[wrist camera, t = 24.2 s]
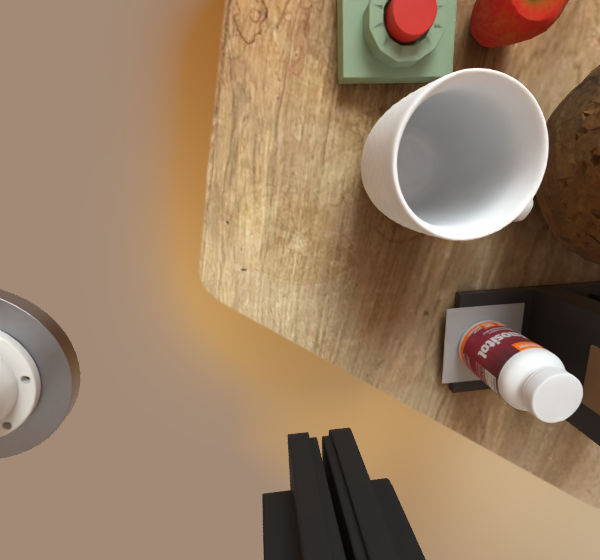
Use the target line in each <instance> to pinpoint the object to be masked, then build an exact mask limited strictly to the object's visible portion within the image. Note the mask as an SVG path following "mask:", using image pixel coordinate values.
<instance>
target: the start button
mask: <svg viewBox="0 0 600 560" xmlns="http://www.w3.org/2000/svg"><path fill="white" fill-rule="evenodd" d="M436 14H437V2H436V0H392V1H391V2H390V4H389V5H388V8H387V11H386V17H385V19H386V26H387V29H388V32H389V33H390V35H391V36H392V37H393V38H394V39H395V40H397V41H399V42H402V43H410V42H413V41H415V40H417V39H418V38H420V37H421V36H422V35H423V34H424V33H425V32H426V31H428V30H429V29H430V27H431V26H432V25H433V23H434V21H435V18H436Z"/></svg>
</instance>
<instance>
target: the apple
mask: <svg viewBox="0 0 600 560" xmlns="http://www.w3.org/2000/svg"><path fill="white" fill-rule="evenodd" d="M568 1H569V0H476V3H475V5H474V8H473V11H472V15H471V20H470V28H471V33H472V35H473V37H474V39H475V40H476V41H477V42H478V43H480V44H481V45H482V46H485V47H502V46H507V45H511V44H515V43H518V42H522V41H525V40H529V39H532V38H533V37H535V36H537V35H539V34H541V33H543V32H545V31H546V30H547V29H548V28H549V27H550V26H551V25H552V24H553V23H554V22H555V21H556V20H557V19H558V18H559V16H560V15H561V13H562V11H563V9H564V8H565V6H566V4H567V2H568Z"/></svg>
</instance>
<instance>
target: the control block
mask: <svg viewBox="0 0 600 560" xmlns="http://www.w3.org/2000/svg"><path fill="white" fill-rule="evenodd" d="M391 1H392V0H337V56H338V84H383V83H430V82H433V81H435V80H437V79H439V78H441V77H443V76H445V75H448V74H450V73H453V57H454V41H455V24H456V8H457V0H436V2H437V14H436V18H435V21H434V23H433V25H432V26H431V27H430V29H429V30H428V31H426V32H425V33H424V34H423V35H422V36H421V37H420V38H418V39H417V40H415V41H413V42H410V43H402V42H399V41H397V40H395V39H394V38H393V37H392V36H391V35H390V33H389V32H388V29H387V26H386V19H385V17H386V11H387V8H388V5H389V4H390V2H391Z"/></svg>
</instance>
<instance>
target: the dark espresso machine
mask: <svg viewBox="0 0 600 560" xmlns="http://www.w3.org/2000/svg"><path fill="white" fill-rule="evenodd" d="M485 320H493V321H498V322H500V323H502V324H504V325H506V326H508V327H509V328H511V329H513V330H514V331H516V332H518V333H519V334H521V335H523V336H525V337H526V338H528V339H530V340H531V341H533V342H535V343H536V344H538V345H540V346H542V347H543V348H545V349H547V350H548V351H550V352H551V353H553V354H555V355H556V356H557V357H558V358H559V359H560V360H561V362H562V363H563V365H564V367H565V370H566V371H567V372H568V373H570V374H572V375H573V376H575V377H576V378H577V379H578V380H579V381H580V383H581V385H582V388H583V397H582V401H581V403H580V405H579V407H578V408H577V410H576V411H575V412H574V413H573V414H572V415H571V416H570V417H568V418H567V419H565V420H567V421H568V422H569V423H570V424H572V425H573V426H574V427H576V428H577V429H578V430H580V431H581V432H582V433H583V434H585V435H586V436H587V437H589V438H590V439H591V440H593V441H594V442H595V443H597V444H598V445H599V446H600V281H599V282H585V283H572V284H559V285H545V286H532V287H519V288H506V289H492V290H479V291H466V292H456V300H455V308H451V309H446V324H445V339H444V354H443V369H442V384H444V383H449V389H450V390H451V391H452V392H453V393H456V392H465V391H475V390H484V389H491V388H490V387H489V386H488V385H486V384H485V383H484V382H483V381H482V380H481V379H480V378H479V377H477V376H476V375H475V374H474V373H473V372H472V371H471V370H470V369H468V368H467V367H466V366H465V364H464V363H463V362H462V360H461V358H460V355H459V343H460V340H461V338H462V336H463V334H464V333H465V332H466V331H467V330H468V329H469V328H470V327H471V326H472V325H474V324H476V323H478V322H481V321H485Z"/></svg>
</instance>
